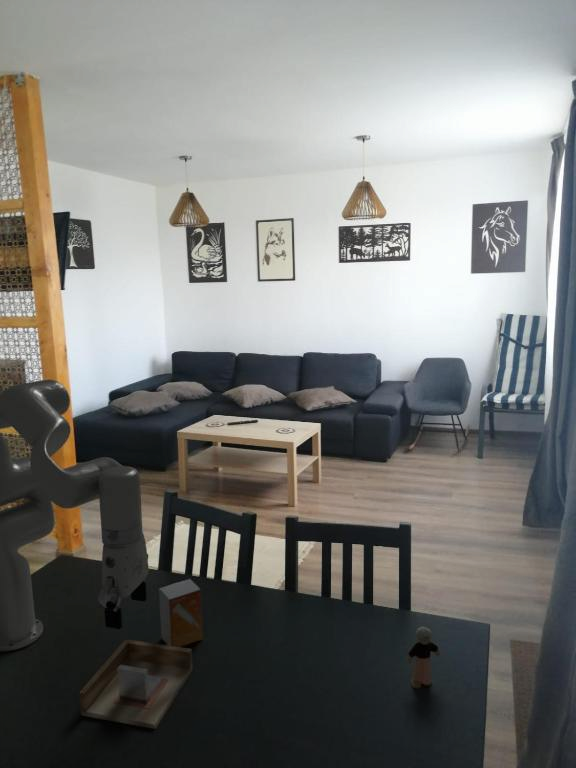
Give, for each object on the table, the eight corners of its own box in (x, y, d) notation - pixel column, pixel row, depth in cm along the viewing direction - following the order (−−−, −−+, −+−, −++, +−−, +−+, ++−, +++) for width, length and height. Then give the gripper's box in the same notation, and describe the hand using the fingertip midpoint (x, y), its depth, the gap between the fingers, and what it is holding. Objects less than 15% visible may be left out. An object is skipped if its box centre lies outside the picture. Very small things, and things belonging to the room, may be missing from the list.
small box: (171, 651, 139) (168, 599, 137) (161, 638, 144) (157, 587, 142) (203, 639, 143) (201, 588, 141) (192, 626, 149) (189, 577, 146)
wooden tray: (81, 715, 119) (79, 692, 119) (126, 659, 137) (125, 639, 136) (155, 729, 115) (153, 705, 115) (192, 669, 133) (191, 648, 132)
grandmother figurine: (414, 693, 124) (415, 637, 121) (402, 682, 127) (403, 628, 125) (443, 681, 127) (445, 626, 125) (431, 671, 130) (432, 617, 128)
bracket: (146, 704, 120) (144, 673, 119) (119, 699, 122) (117, 668, 121) (162, 681, 127) (160, 651, 126) (137, 677, 129) (134, 647, 127)
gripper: (116, 554, 106) (121, 642, 110) (160, 515, 123) (164, 593, 126) (78, 549, 108) (84, 636, 111) (127, 512, 124) (131, 588, 128)
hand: (126, 613), depth 119 cm, fingers open, 9 cm apart
